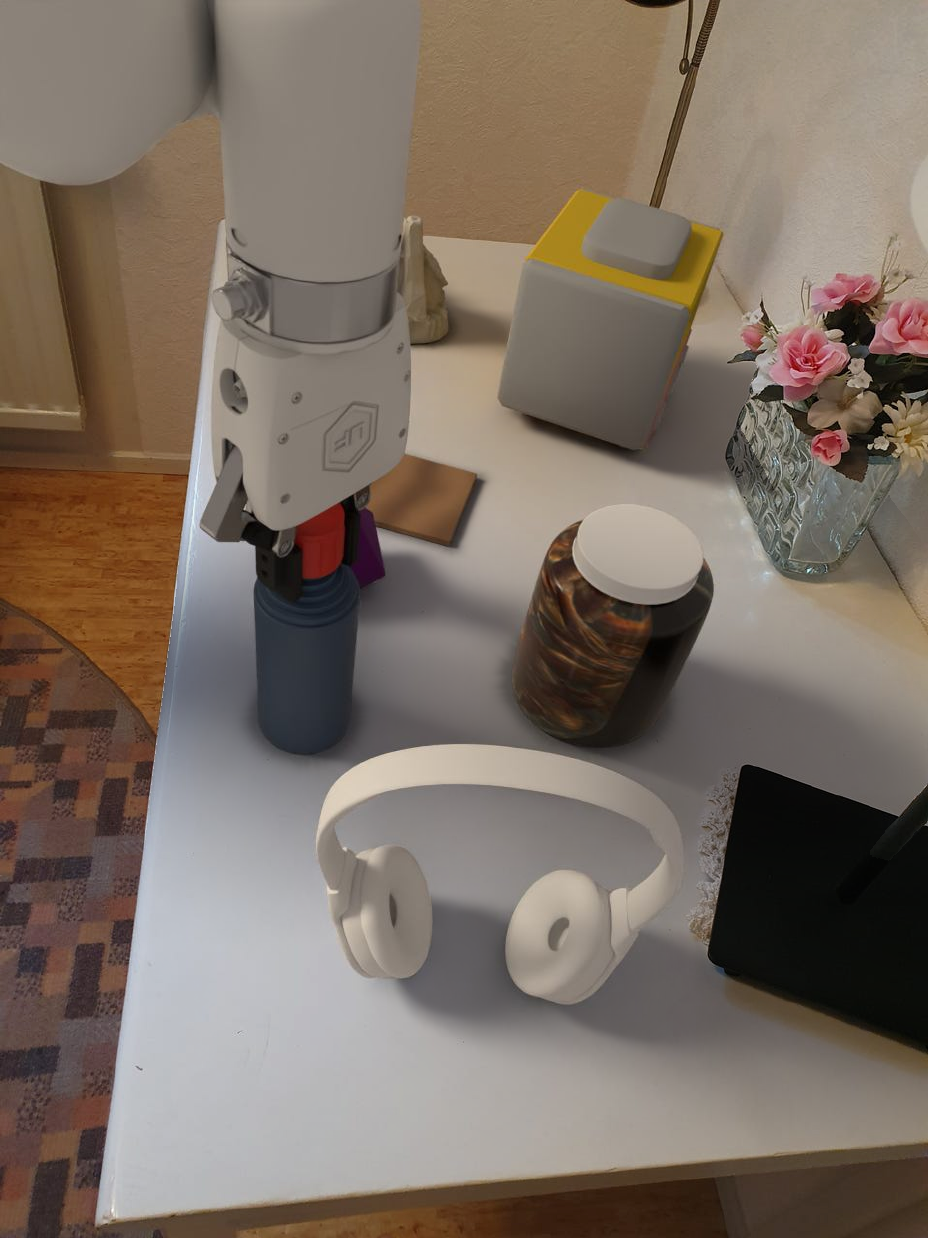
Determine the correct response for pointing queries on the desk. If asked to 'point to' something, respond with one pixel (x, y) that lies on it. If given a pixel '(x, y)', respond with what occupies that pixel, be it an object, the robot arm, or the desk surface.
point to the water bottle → (306, 661)
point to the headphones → (547, 913)
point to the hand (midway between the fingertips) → (307, 567)
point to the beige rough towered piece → (421, 286)
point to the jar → (611, 625)
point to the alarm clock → (606, 317)
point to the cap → (321, 542)
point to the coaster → (421, 499)
